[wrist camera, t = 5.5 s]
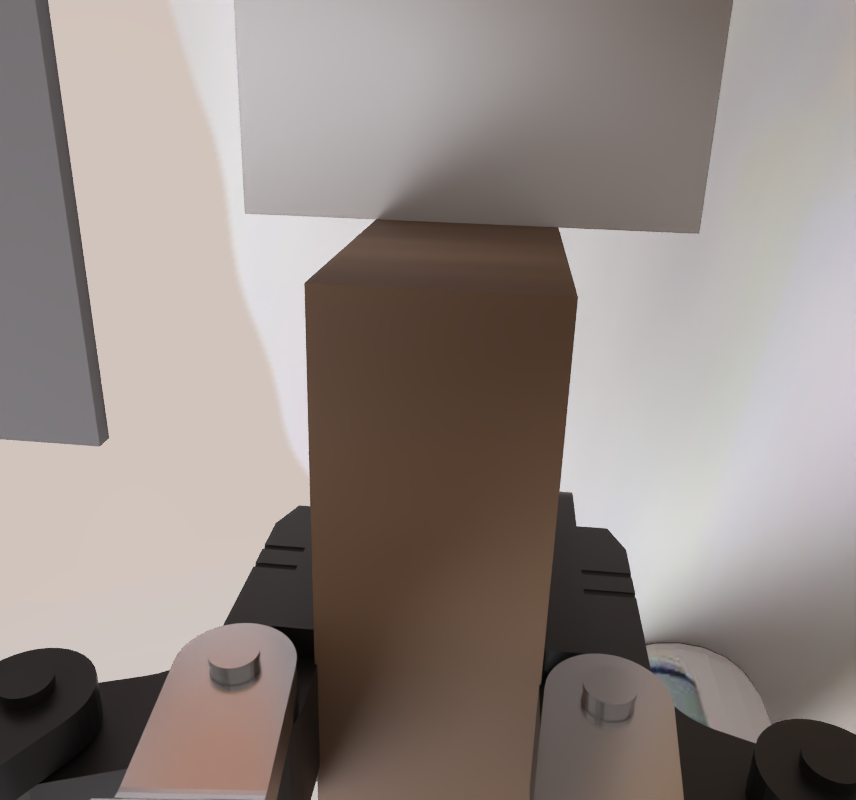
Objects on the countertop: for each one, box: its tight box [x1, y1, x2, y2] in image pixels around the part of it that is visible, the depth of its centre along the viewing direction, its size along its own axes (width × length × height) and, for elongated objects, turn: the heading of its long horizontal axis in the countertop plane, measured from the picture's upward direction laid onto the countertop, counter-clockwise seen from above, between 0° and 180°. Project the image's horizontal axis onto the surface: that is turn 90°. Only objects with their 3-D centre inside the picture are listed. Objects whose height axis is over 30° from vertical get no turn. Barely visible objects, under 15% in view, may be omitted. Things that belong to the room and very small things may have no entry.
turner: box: [234, 0, 733, 800], centre depth 10 cm, size 20×6×4 cm, turn 179°
